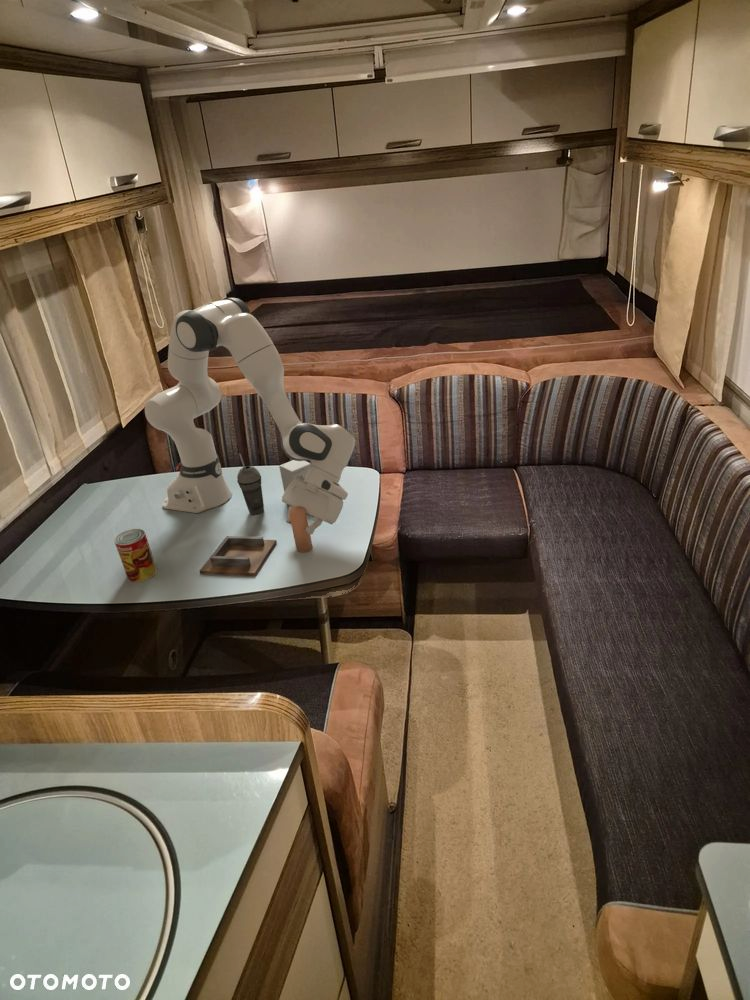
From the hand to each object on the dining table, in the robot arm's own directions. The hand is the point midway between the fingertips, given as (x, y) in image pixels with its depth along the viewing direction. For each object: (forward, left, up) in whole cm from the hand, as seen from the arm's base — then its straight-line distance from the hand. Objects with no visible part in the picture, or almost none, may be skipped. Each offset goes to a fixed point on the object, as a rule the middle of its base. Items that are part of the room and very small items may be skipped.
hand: (298, 528), depth 173 cm
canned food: (-42, -14, -7) cm, 45 cm away
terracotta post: (0, +1, -7) cm, 7 cm away
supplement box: (-10, +28, -7) cm, 30 cm away
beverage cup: (-22, +20, -7) cm, 30 cm away
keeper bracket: (-17, -5, -7) cm, 19 cm away
